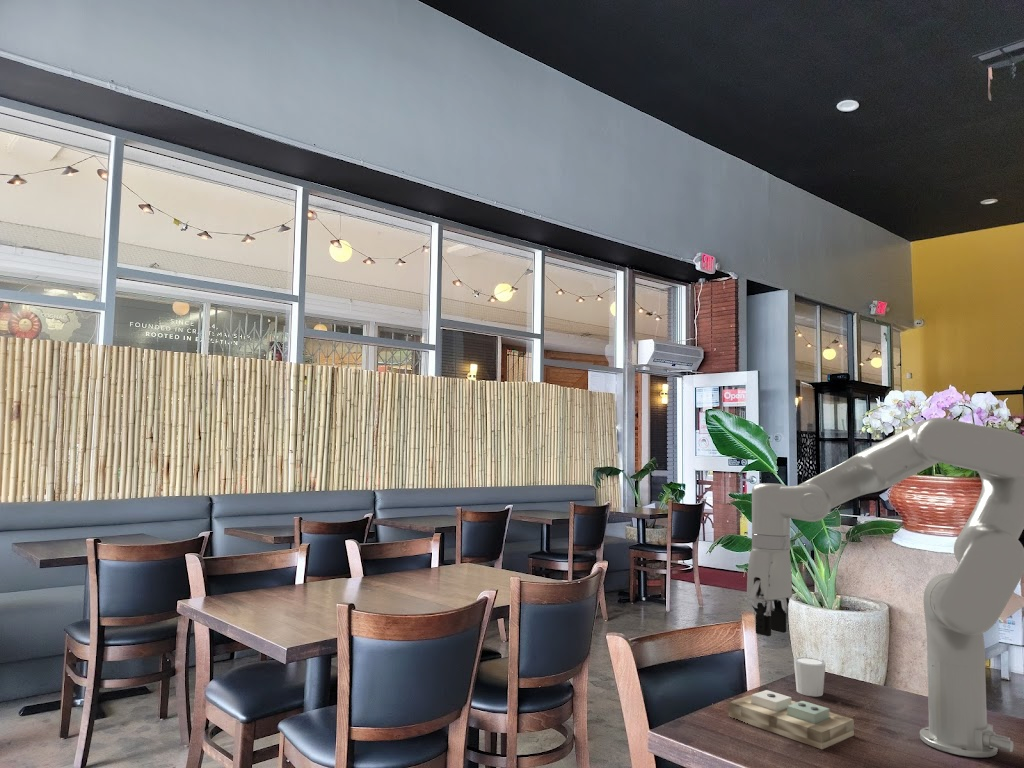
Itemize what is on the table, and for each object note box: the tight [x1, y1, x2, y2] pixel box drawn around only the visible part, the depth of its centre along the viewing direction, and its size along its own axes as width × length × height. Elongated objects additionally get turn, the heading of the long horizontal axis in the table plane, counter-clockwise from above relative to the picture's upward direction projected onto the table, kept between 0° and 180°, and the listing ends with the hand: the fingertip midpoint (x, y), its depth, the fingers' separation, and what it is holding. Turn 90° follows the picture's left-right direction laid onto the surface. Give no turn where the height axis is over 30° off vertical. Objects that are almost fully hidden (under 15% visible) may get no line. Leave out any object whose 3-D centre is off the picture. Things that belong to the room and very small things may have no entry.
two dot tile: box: [787, 700, 830, 724], centre depth 143 cm, size 6×6×2 cm
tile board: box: [728, 694, 855, 750], centre depth 146 cm, size 20×12×3 cm, turn 39°
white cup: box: [793, 657, 826, 697], centre depth 168 cm, size 7×7×7 cm
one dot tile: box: [750, 689, 792, 712], centre depth 149 cm, size 6×6×2 cm
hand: (771, 632), depth 151 cm, fingers open, 4 cm apart
